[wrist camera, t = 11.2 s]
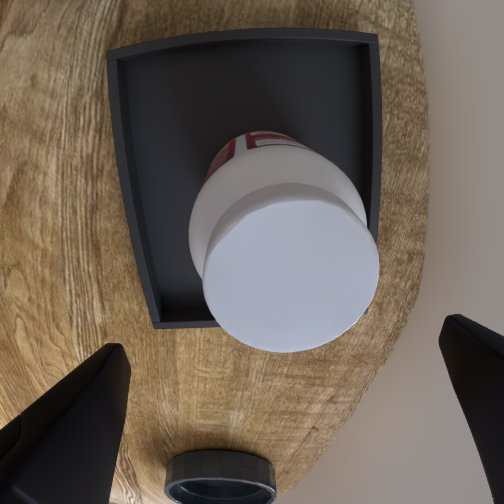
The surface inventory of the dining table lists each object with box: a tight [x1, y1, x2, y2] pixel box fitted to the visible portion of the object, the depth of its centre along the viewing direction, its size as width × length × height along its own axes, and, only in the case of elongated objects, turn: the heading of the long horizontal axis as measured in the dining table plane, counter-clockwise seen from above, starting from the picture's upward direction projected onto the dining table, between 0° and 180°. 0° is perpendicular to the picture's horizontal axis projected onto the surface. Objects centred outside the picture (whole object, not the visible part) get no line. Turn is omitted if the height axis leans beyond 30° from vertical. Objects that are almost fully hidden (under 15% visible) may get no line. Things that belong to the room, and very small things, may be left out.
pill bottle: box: [189, 131, 379, 352], centre depth 13 cm, size 6×6×11 cm
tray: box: [106, 28, 382, 329], centre depth 18 cm, size 17×14×2 cm
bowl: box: [164, 450, 277, 504], centre depth 31 cm, size 13×13×4 cm
